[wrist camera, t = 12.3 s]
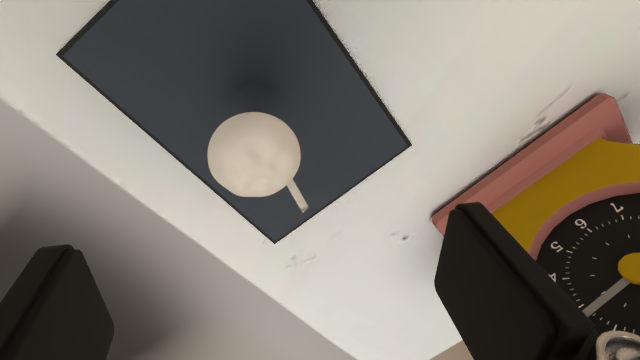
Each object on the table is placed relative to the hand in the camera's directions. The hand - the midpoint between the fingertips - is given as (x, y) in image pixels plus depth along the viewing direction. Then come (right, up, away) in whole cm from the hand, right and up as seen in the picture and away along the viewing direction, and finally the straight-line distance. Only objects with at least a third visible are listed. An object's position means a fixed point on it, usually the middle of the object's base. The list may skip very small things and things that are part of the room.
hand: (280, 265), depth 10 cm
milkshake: (-3, +7, +16) cm, 18 cm away
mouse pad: (-3, +7, +16) cm, 18 cm away
